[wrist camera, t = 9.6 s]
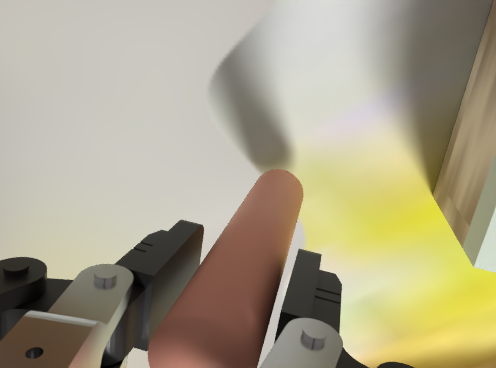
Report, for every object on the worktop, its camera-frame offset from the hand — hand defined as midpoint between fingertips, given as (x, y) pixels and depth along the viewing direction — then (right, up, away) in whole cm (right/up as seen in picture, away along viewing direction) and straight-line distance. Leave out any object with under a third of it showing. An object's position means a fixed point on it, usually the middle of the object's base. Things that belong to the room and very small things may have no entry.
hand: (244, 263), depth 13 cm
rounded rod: (+2, +2, +7) cm, 7 cm away
